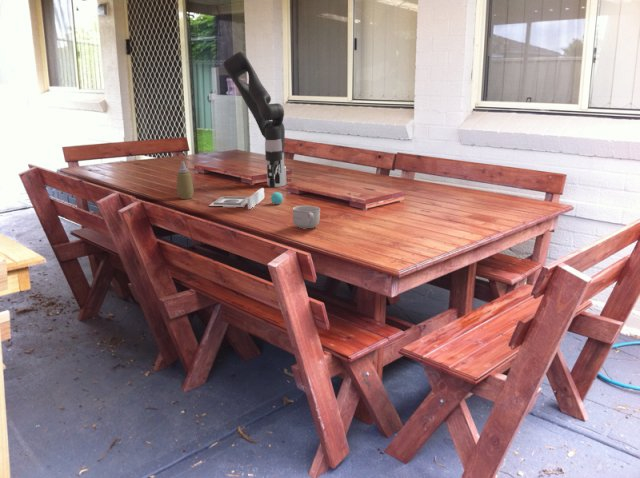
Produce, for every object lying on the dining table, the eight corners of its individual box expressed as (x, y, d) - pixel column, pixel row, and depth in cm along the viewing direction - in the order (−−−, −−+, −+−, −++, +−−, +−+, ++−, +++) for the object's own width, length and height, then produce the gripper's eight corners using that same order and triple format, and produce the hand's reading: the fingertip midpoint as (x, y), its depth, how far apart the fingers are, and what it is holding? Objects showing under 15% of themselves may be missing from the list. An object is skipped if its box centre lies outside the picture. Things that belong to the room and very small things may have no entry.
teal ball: (277, 202, 279) (276, 190, 277) (285, 203, 275) (285, 191, 274) (268, 204, 275) (268, 192, 273) (277, 206, 271) (276, 194, 270)
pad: (221, 198, 288) (221, 195, 288) (253, 199, 285) (253, 196, 285) (209, 206, 273) (208, 203, 273) (242, 207, 270) (242, 204, 270)
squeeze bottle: (197, 196, 294) (194, 160, 289) (189, 200, 287) (185, 162, 281) (183, 195, 296) (179, 159, 291) (174, 199, 289) (170, 162, 284)
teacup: (292, 224, 241) (291, 205, 239) (319, 223, 242) (319, 203, 239) (294, 234, 228) (293, 213, 225) (322, 232, 229) (322, 212, 226)
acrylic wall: (261, 198, 287) (261, 187, 286) (264, 198, 287) (263, 187, 285) (247, 209, 267) (247, 198, 265) (250, 209, 266) (249, 198, 265)
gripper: (270, 147, 275) (271, 182, 280) (260, 151, 262) (262, 188, 266) (285, 147, 273) (287, 182, 278) (277, 151, 260) (278, 188, 265)
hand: (275, 185), depth 272 cm, fingers open, 8 cm apart
